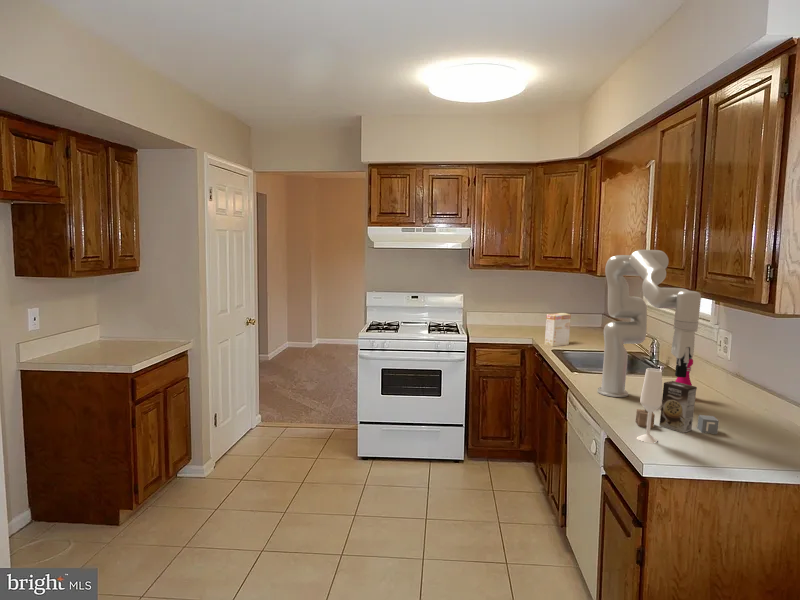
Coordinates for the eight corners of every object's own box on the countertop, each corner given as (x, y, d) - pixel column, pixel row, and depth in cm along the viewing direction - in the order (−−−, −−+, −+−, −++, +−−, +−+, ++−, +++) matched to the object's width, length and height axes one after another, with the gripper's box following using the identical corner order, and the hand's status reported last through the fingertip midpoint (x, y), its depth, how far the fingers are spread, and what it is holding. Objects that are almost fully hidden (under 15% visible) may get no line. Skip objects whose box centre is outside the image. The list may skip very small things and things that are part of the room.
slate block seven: (697, 428, 202) (698, 414, 201) (712, 429, 201) (713, 416, 200) (702, 433, 197) (703, 419, 196) (717, 434, 196) (719, 420, 195)
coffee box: (658, 425, 203) (662, 382, 201) (667, 422, 206) (672, 380, 204) (683, 433, 195) (688, 388, 193) (692, 430, 199) (697, 386, 197)
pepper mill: (679, 394, 246) (684, 349, 243) (694, 398, 239) (699, 353, 237) (668, 395, 243) (673, 350, 240) (683, 400, 236) (688, 354, 234)
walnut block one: (635, 422, 206) (637, 406, 205) (650, 423, 205) (651, 407, 204) (638, 426, 201) (640, 410, 200) (653, 428, 200) (655, 411, 199)
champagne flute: (635, 434, 192) (642, 366, 189) (656, 437, 190) (663, 368, 187) (637, 441, 186) (644, 371, 183) (659, 444, 184) (666, 373, 181)
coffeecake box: (560, 342, 356) (562, 312, 353) (569, 344, 350) (571, 314, 347) (543, 344, 348) (546, 313, 345) (552, 346, 342) (554, 315, 339)
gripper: (668, 321, 204) (663, 370, 207) (680, 328, 190) (674, 381, 192) (690, 323, 203) (685, 372, 205) (704, 330, 188) (698, 383, 191)
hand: (680, 376), depth 199 cm, fingers closed
